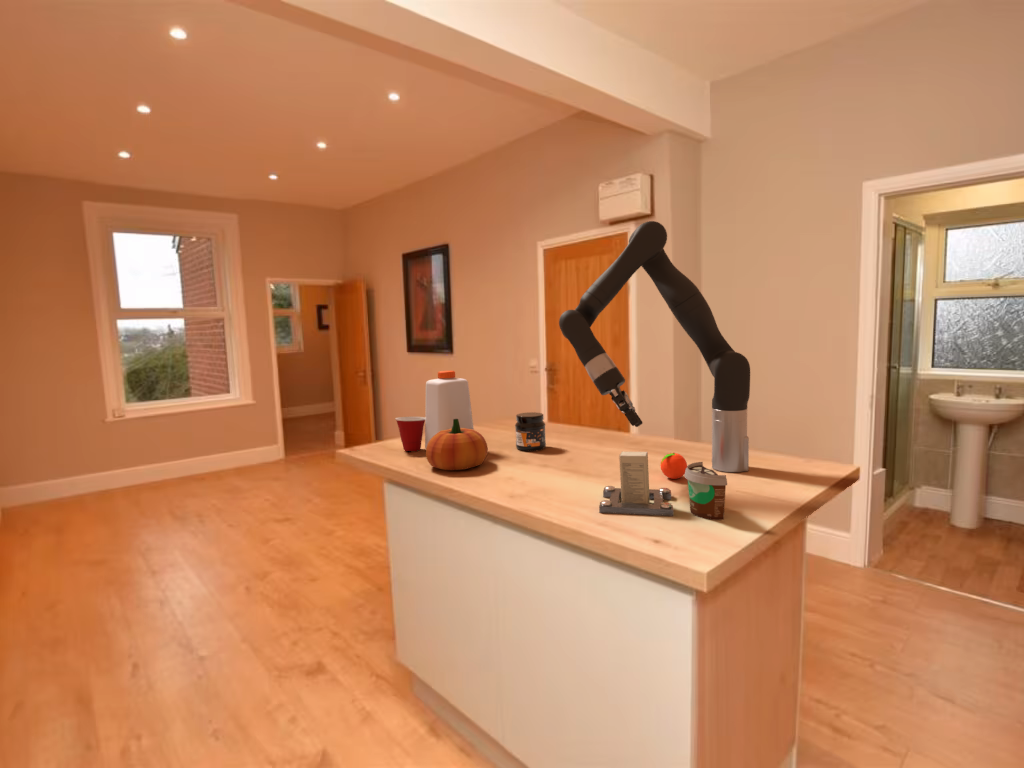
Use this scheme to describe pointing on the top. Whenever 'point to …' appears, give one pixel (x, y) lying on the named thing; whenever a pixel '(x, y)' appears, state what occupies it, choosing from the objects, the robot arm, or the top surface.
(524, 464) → the top surface
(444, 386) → the plastic bottle
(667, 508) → the grey rectangular frame
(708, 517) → the food container
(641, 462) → the skincare box
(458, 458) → the pumpkin
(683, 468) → the clementine
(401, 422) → the plastic cup
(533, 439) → the supplement container
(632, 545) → the top surface
